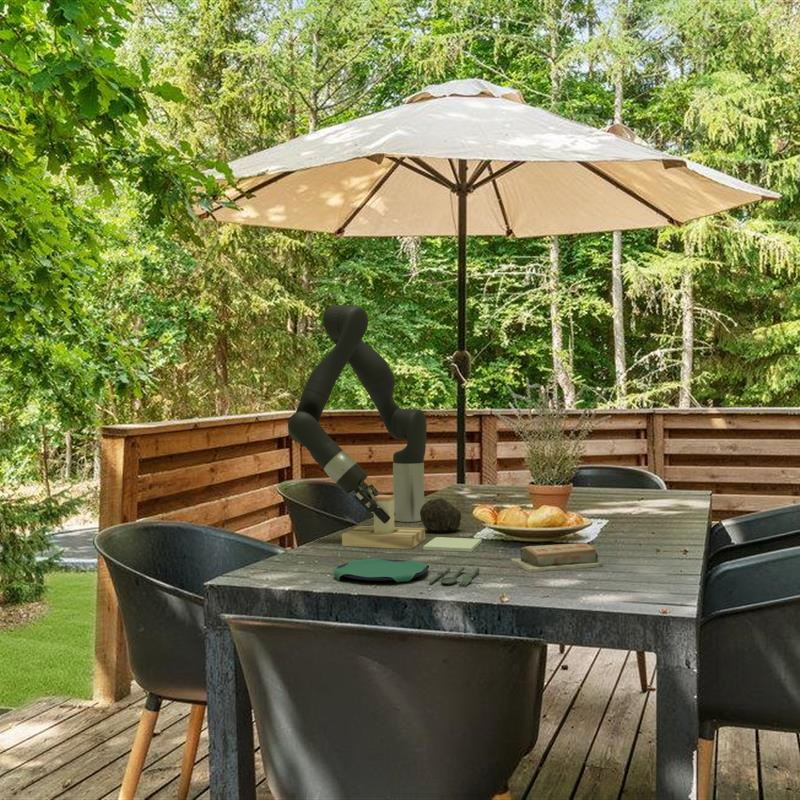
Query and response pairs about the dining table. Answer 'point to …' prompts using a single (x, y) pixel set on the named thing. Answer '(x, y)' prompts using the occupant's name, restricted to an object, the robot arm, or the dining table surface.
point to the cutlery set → (394, 571)
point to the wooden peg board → (383, 537)
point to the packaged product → (557, 557)
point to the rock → (440, 516)
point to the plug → (388, 506)
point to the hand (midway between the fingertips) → (390, 518)
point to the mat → (452, 544)
